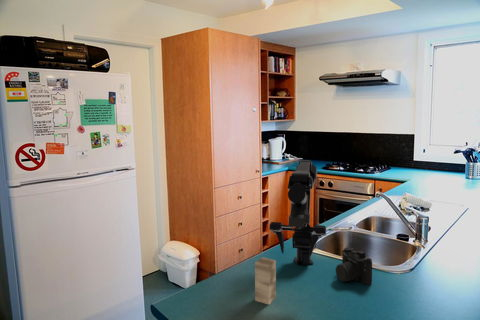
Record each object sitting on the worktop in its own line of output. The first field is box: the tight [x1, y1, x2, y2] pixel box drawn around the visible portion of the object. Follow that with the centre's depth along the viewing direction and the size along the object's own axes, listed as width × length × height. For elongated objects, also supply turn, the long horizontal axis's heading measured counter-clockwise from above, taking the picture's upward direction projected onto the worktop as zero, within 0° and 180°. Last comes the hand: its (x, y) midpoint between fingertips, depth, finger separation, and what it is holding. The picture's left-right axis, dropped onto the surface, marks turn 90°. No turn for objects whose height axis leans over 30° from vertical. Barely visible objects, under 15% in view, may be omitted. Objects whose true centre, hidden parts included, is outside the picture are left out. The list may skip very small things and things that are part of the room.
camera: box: [335, 247, 373, 286], centre depth 132 cm, size 14×11×10 cm
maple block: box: [254, 256, 277, 305], centre depth 118 cm, size 5×5×13 cm
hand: (296, 254), depth 121 cm, fingers open, 9 cm apart
